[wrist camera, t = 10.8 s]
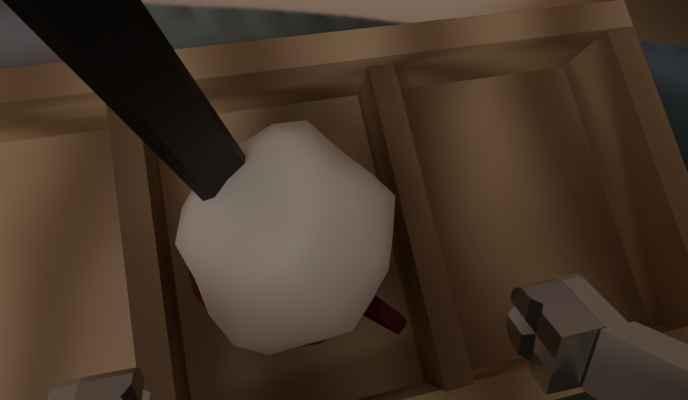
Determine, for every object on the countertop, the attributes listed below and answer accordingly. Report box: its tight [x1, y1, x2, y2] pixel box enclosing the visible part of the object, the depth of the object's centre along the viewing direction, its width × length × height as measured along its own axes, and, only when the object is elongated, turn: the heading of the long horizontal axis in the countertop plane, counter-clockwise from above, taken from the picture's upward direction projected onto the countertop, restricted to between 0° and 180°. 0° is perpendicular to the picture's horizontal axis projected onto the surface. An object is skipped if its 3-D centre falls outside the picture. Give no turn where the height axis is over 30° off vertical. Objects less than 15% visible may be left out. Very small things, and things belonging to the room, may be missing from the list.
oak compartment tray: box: [0, 0, 688, 400], centre depth 18 cm, size 30×14×4 cm, turn 102°
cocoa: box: [3, 0, 407, 355], centre depth 13 cm, size 10×6×12 cm, turn 32°
